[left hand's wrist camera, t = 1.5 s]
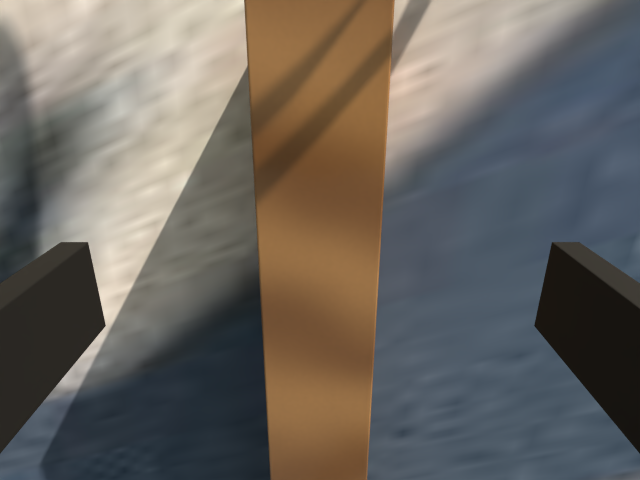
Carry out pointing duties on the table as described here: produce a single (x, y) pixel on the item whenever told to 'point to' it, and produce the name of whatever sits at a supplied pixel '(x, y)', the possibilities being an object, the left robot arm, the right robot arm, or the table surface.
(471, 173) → the table surface
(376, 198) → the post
